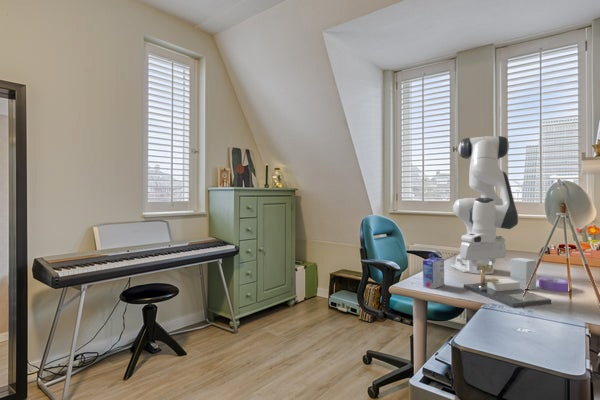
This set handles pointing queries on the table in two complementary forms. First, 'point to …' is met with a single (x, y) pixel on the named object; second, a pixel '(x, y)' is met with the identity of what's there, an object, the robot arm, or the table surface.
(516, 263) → the supplement box
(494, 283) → the cover lid
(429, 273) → the ink cartridge box
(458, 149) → the robot arm
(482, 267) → the t key
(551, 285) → the masking tape
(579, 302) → the table surface
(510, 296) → the plate
